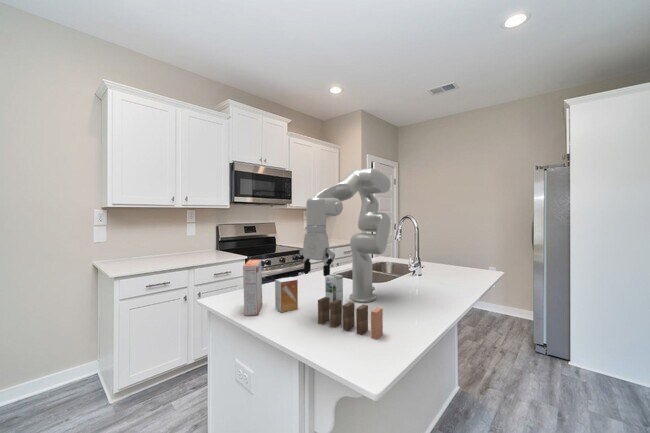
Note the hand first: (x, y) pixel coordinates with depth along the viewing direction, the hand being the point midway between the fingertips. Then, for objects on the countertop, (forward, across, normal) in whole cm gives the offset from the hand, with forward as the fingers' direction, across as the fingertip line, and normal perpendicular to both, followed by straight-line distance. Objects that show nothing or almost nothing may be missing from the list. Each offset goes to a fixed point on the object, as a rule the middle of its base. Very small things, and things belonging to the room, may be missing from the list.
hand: (316, 273), depth 112 cm
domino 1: (+18, +3, 0) cm, 19 cm away
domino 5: (+18, +25, +2) cm, 31 cm away
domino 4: (+18, +20, +1) cm, 27 cm away
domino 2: (+18, +9, +1) cm, 20 cm away
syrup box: (+18, -3, +15) cm, 24 cm away
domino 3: (+18, +14, +1) cm, 23 cm away
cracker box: (+18, -29, -8) cm, 36 cm away
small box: (+18, -19, +2) cm, 27 cm away
